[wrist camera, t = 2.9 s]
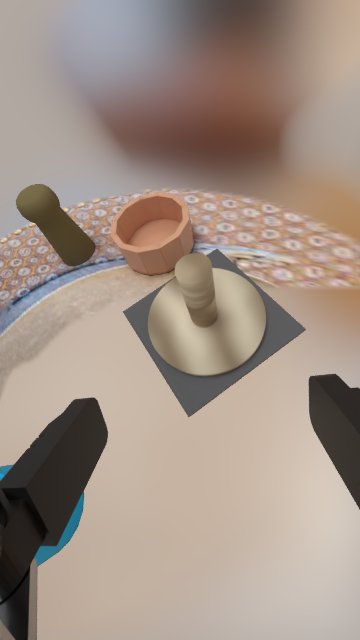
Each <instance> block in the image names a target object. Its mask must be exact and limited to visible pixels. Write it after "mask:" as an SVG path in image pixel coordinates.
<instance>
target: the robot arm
mask: <svg viewBox="0 0 360 640" xmlns="http://www.w3.org/2000/svg"><path fill="white" fill-rule="evenodd" d="M309 413H310V419H311V423H312V426H313V429H314V431H315V433H316V435H317V436H318V438H319V440H320V441H321V443H322V445H323V447H324V448H325V450H326V452H327V454H328V455H329V457H330V459H331V460H332V462H333V464H334V466H335V467H336V469H337V471H338V473H339V474H340V476H341V478H342V479H343V481H344V483H345V485H346V486H347V488H348V490H349V492H350V493H351V495H352V497H353V498H354V500H355V502H356V504H357V505H358V507H359V509H360V389H359V388H350V387H349V386H347V384H346V383H345V382H344V381H343V380H342V379H341V378H340V377H339V376H337V375H336V374H327V375H317V376H311V377H310V378H309ZM107 438H108V431H107V427H106V424H105V421H104V418H103V415H102V412H101V409H100V407H99V404H98V401H97V400H96V399H95V398H84V399H75V400H73V401H72V402H71V404H70V405H69V406H68V407H67V408H66V410H65V411H64V412H63V413H62V414H61V415H60V416H58V417H57V418H56V419H55V420H53V421H52V422H51V423H49V424H48V425H47V427H46V428H45V429H44V430H43V431H42V433H41V434H40V435H39V438H37V439H36V440H35V441H34V442H33V443H32V444H31V445H30V448H29V449H27V450H26V451H25V453H24V454H23V455H22V456H21V457H20V458H19V460H18V461H17V462H16V463H15V464H14V465H13V467H12V468H11V469H10V470H9V471H8V472H7V474H6V475H5V476H4V477H3V478H2V480H1V481H0V640H37V561H36V559H35V555H36V553H37V552H38V550H39V548H40V546H57V545H58V543H59V541H60V539H61V537H62V535H63V533H64V531H65V528H66V526H67V524H68V522H69V520H70V518H71V516H72V514H73V512H74V510H75V508H76V506H77V504H78V502H79V499H80V497H81V495H82V493H83V491H84V489H85V487H86V485H87V483H88V481H89V479H90V477H91V475H92V472H93V470H94V468H95V466H96V464H97V462H98V460H99V458H100V456H101V454H102V452H103V450H104V448H105V445H106V443H107Z"/></svg>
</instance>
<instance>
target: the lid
mask: <svg viewBox="0 0 360 640" xmlns="http://www.w3.org/2000/svg"><path fill="white" fill-rule="evenodd" d="M175 275H176V277H175V278H174V279H172V280H171V281H170V282H168V283H167V284H166V285H165V286H164V287H163V288H162V289H161V290H160V291H159V293H158V294H157V296H156V297H155V299H154V301H153V303H152V305H151V308H150V311H149V316H148V332H149V336H150V339H151V342H152V344H153V346H154V348H155V350H156V351H157V352H158V354H159V355H160V356H161V357H162V358H163V359H164V360H165V361H166V362H167V363H168V364H169V365H171V366H172V367H173V368H175V369H177V370H179V371H181V372H184V373H186V374H190V375H194V376H202V377H207V376H217V375H221V374H225V373H228V372H230V371H232V370H234V369H236V368H238V367H240V366H241V365H243V364H244V363H245V362H246V361H247V360H249V359H250V357H251V356H252V355H253V354H254V353H255V351H256V350H257V348H258V347H259V345H260V342H261V340H262V337H263V334H264V331H265V326H266V311H265V306H264V303H263V300H262V298H261V296H260V294H259V293H258V291H257V290H256V288H255V287H254V286H253V285H252V284H251V283H250V282H249V281H247V280H246V279H245V278H243V277H242V276H240V275H238V274H236V273H234V272H231V271H228V270H224V269H219V268H212V263H211V261H210V259H209V258H208V257H207V256H205V255H203V254H200V253H191V254H188V255H185V256H184V257H182V258H181V259H180V260H179V261H178V262H177V263H176V266H175Z"/></svg>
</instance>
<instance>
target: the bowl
mask: <svg viewBox="0 0 360 640" xmlns="http://www.w3.org/2000/svg"><path fill="white" fill-rule="evenodd" d="M110 236H111V238H112V239H113V241H114V243H115V244H116V246H117V247H118V249H119V251H120V252H121V254H122V256H123V257H124V259H125V260H126V261H127V263H128V264H129V266H130V267H131V268H132V269H133V270H135V271H137V272H139V273H141V274H145V275H159V274H163V273H167V272H169V271H172V270H174V269H175V266H176V263H177V262H178V261H179V260H180V259H181V258H182V257H184V256H185V255H188V254H190V253H191V251H192V249H193V245H194V239H193V232H192V226H191V221H190V216H189V210H188V205H187V204H186V203H185V202H184V201H183V200H182V199H180V198H179V197H178V196H177V195H175V194H169V193H162V192H156V193H151V194H147V195H143V196H139V197H137V198H136V199H134V200H132V201H131V202H129V203H128V204H126V205H124V206H123V207H122V208H121V209H120V211H119V212H118V213H117V215H116V216H115V217H114V219H113V220H112V224H111V234H110Z"/></svg>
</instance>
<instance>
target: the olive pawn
mask: <svg viewBox="0 0 360 640" xmlns="http://www.w3.org/2000/svg"><path fill="white" fill-rule="evenodd" d="M16 205H17V208H18V210H19V211H20V213H21V214H22V216H23V217H25V218H26V219H27V220H29V221H30V222H33V223H36V224H37V226H38V227H39V229H40V230H41V231H42V233H43V234H44V235H45V237H46V238H47V240H48V241H49V242H50V244H51V245H52V246H53V248H54V249H55V251H56V252H57V253H58V255H59V256H60V257H61V259H62V260H63V261H64V263H65V264H67V265H69V266H76V265H80V264H82V263H84V262H85V261H87V260H88V259H89V258H90V257H91V256H92V255H93V253H94V251H95V244H94V242H93V241H92V240H91V239H90V238H89V237H88V236H87V234H86V233H85V232H84V231H83V230H82V229H81V228H80V227H79V226H78V225H77V224H76V223H75V222H74V221H73V220H72V219H71V218H70V217H69V216H68V215H67V214H66V213H65V212H64V211H63V210H62V208H61V207H60V203H59V200H58V197H57V196H56V194H55V193H54V192H53V191H52V190H51V189H50V188H49V187H47V186H45V185H42V184H35V185H31V186H29V187H27V188H25V189H24V190H23V191H21V192H20V194H19V195H18V197H17V199H16Z"/></svg>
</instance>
